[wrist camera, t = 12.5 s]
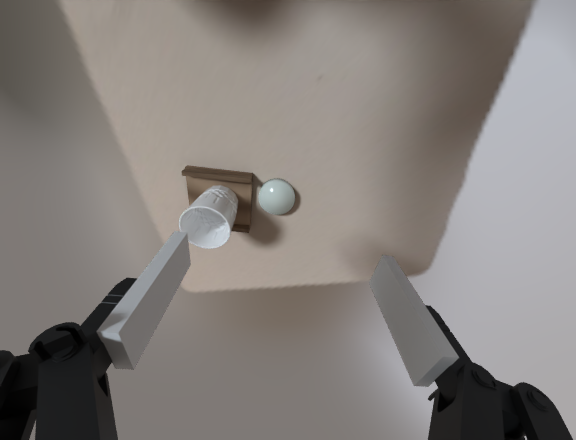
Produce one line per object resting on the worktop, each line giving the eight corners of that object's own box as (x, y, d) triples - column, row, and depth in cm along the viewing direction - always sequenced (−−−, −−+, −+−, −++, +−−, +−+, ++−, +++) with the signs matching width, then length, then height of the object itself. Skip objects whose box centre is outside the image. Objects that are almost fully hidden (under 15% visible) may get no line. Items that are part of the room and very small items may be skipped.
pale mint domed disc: (260, 176, 41) (259, 179, 39) (296, 180, 42) (297, 184, 40) (258, 208, 45) (257, 212, 43) (292, 211, 45) (292, 216, 44)
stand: (187, 165, 40) (181, 170, 37) (252, 173, 41) (250, 178, 38) (193, 220, 46) (188, 227, 43) (250, 226, 47) (248, 233, 44)
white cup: (225, 174, 39) (209, 197, 31) (249, 208, 43) (240, 237, 34) (192, 193, 41) (167, 220, 33) (217, 224, 45) (201, 255, 36)
